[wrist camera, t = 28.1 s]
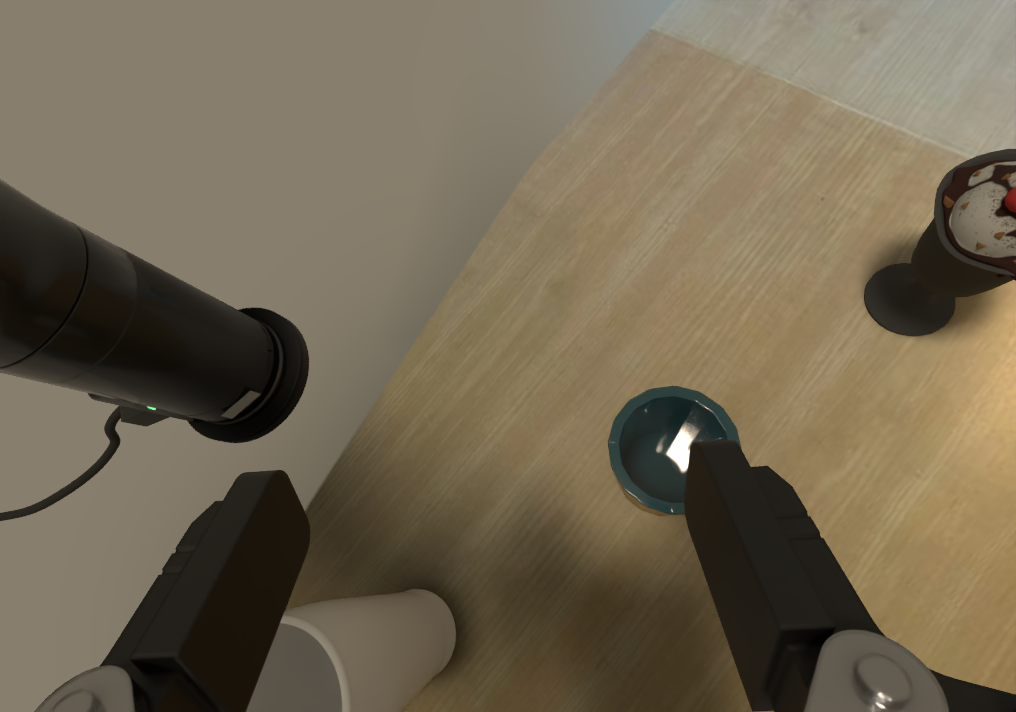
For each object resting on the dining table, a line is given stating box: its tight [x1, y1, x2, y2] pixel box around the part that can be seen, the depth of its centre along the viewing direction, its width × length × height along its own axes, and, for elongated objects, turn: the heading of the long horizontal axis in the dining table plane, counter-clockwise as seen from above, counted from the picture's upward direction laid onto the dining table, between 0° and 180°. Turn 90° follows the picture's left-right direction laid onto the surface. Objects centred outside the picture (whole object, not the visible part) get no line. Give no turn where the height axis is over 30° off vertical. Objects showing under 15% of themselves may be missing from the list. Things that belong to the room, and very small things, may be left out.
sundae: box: [865, 149, 1016, 336], centre depth 26 cm, size 7×7×15 cm
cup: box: [608, 386, 742, 516], centre depth 28 cm, size 6×6×11 cm
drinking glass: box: [246, 589, 456, 712], centre depth 27 cm, size 7×7×15 cm
